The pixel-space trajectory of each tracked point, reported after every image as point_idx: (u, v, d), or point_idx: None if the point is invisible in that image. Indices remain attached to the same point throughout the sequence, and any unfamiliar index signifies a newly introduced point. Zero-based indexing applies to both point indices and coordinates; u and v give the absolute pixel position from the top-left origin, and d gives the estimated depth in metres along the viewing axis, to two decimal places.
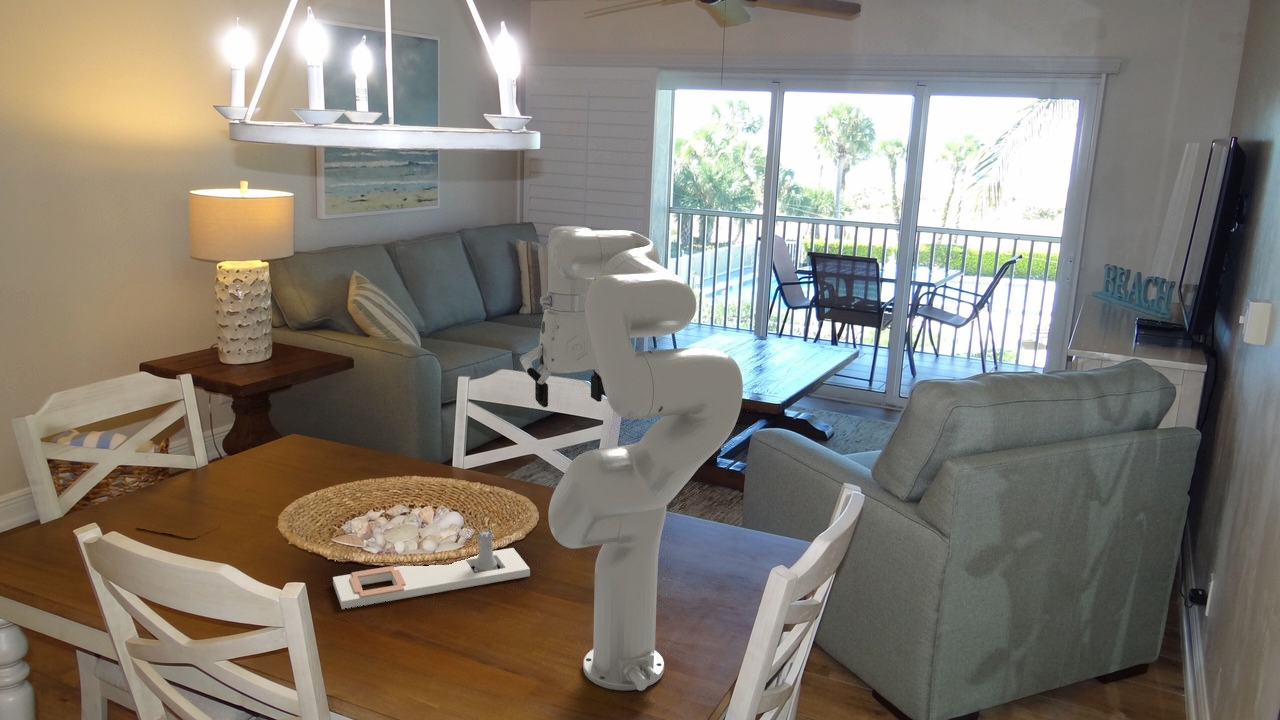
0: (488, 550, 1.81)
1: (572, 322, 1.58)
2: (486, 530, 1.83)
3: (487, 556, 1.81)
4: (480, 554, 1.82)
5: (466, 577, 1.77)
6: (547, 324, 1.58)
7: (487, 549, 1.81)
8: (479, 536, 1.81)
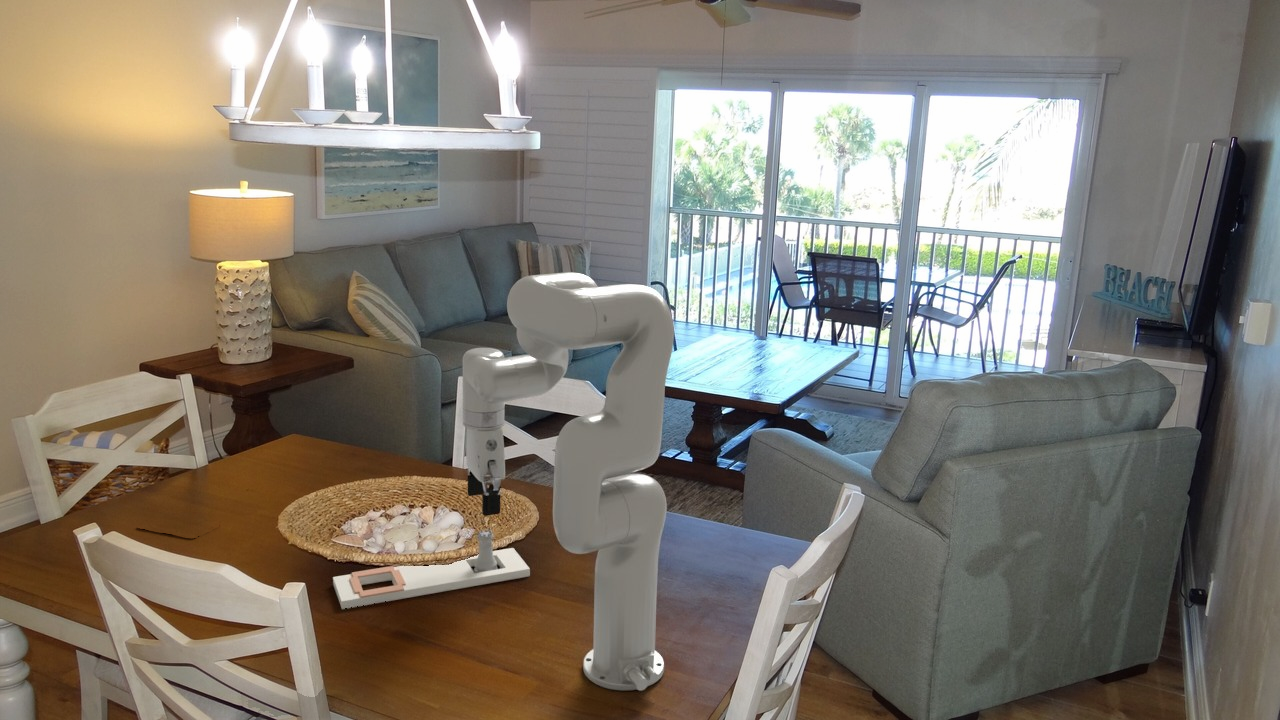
0: (488, 550, 1.81)
1: None
2: (486, 530, 1.83)
3: (487, 556, 1.81)
4: (480, 554, 1.82)
5: (466, 577, 1.77)
6: (499, 439, 1.74)
7: (487, 549, 1.81)
8: (479, 536, 1.81)
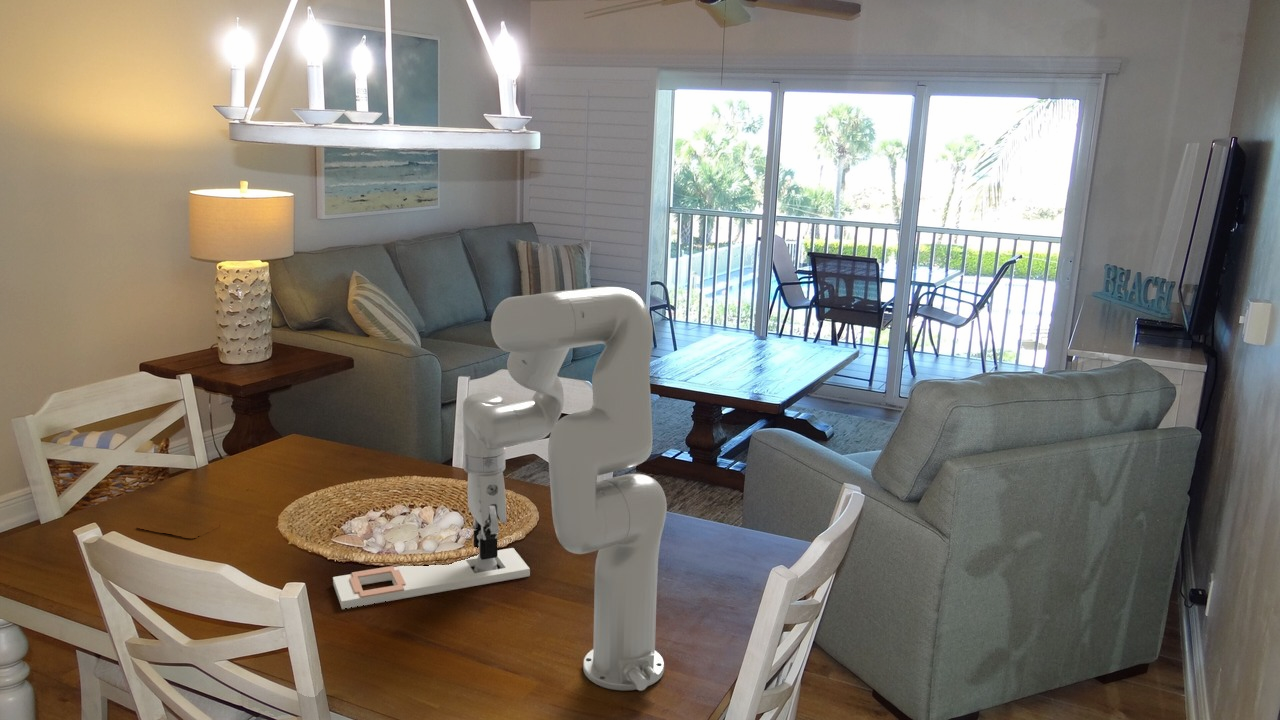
0: None
1: None
2: None
3: None
4: None
5: (466, 577, 1.77)
6: (500, 484, 1.76)
7: None
8: (479, 536, 1.81)
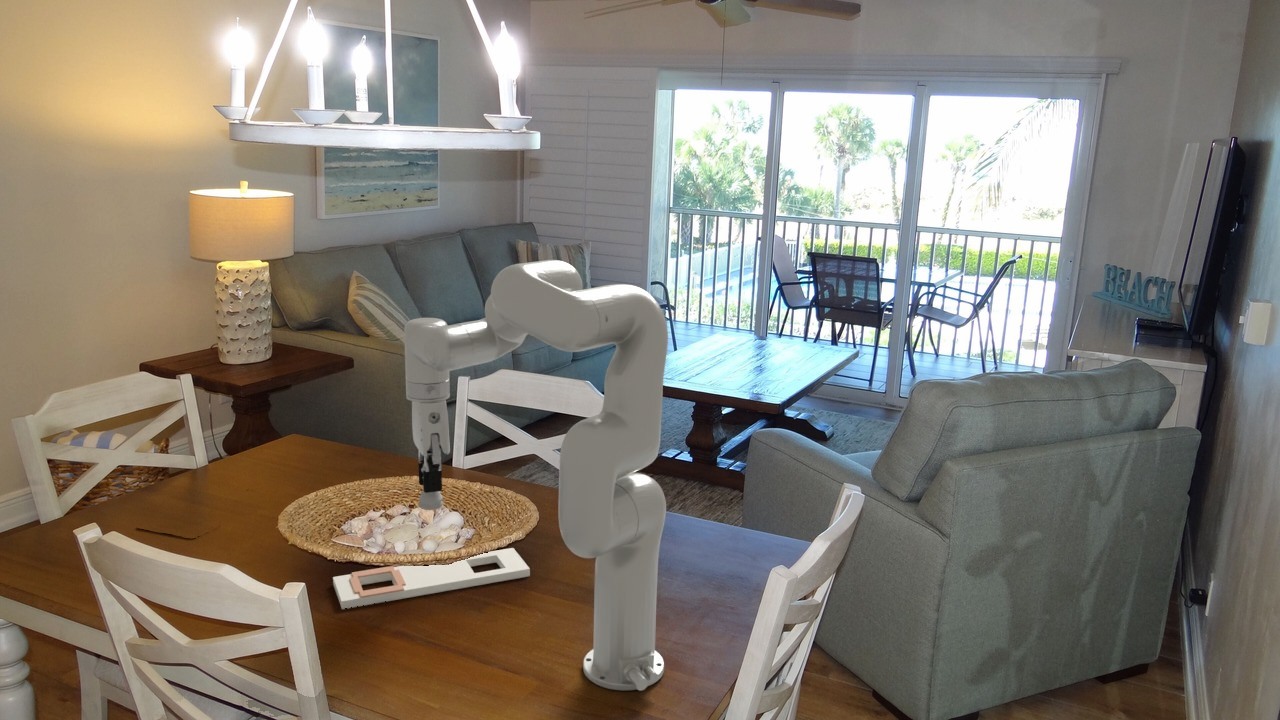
0: None
1: None
2: None
3: None
4: None
5: (466, 577, 1.77)
6: (442, 412, 1.68)
7: None
8: (423, 468, 1.73)
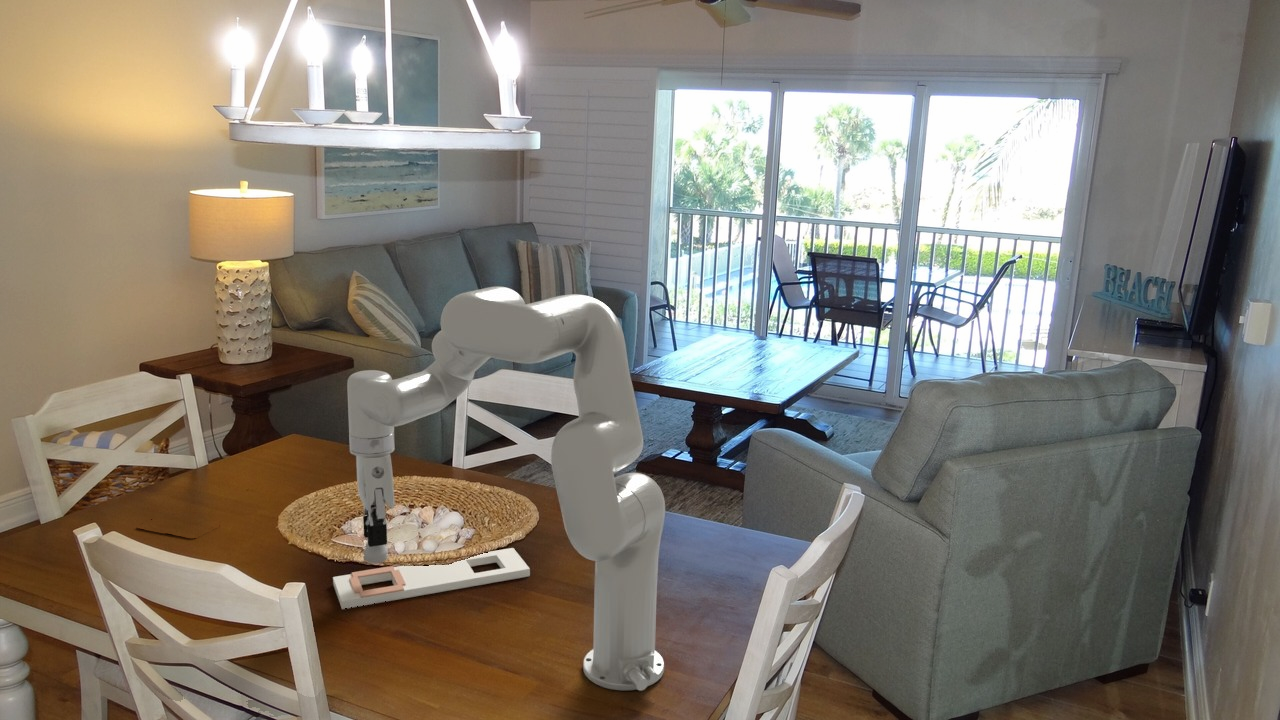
0: None
1: None
2: None
3: None
4: None
5: (466, 577, 1.77)
6: (386, 466, 1.66)
7: None
8: (367, 521, 1.71)
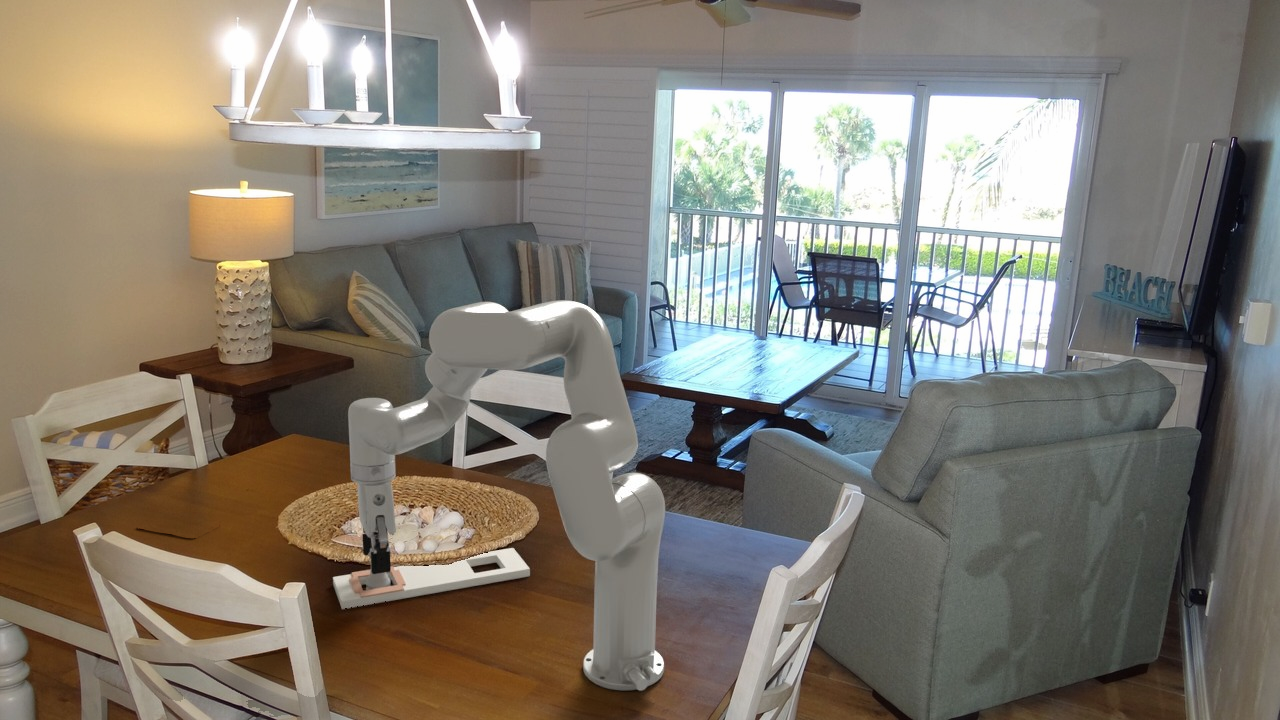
0: None
1: None
2: None
3: (379, 575, 1.73)
4: (371, 572, 1.73)
5: (466, 577, 1.77)
6: (387, 494, 1.67)
7: None
8: (370, 553, 1.72)
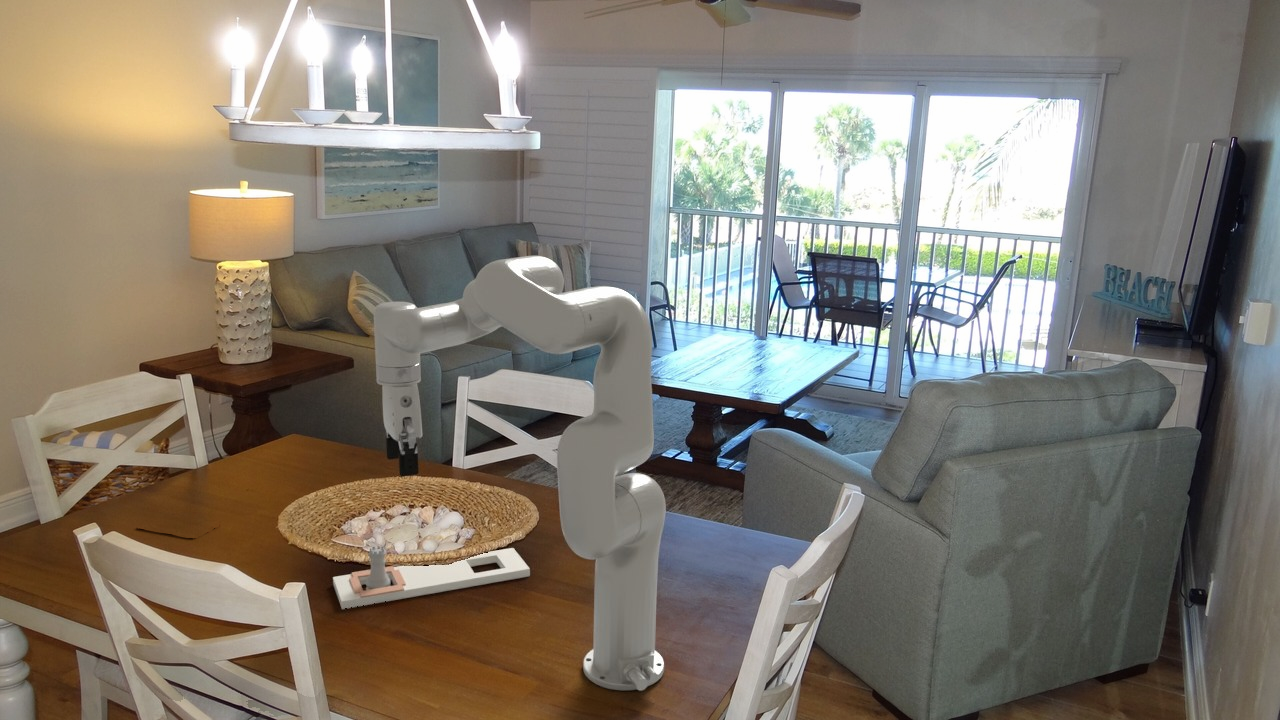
0: (380, 568, 1.73)
1: None
2: (378, 547, 1.74)
3: (379, 575, 1.73)
4: (371, 572, 1.73)
5: (466, 577, 1.77)
6: (414, 395, 1.67)
7: (379, 567, 1.73)
8: (370, 553, 1.72)
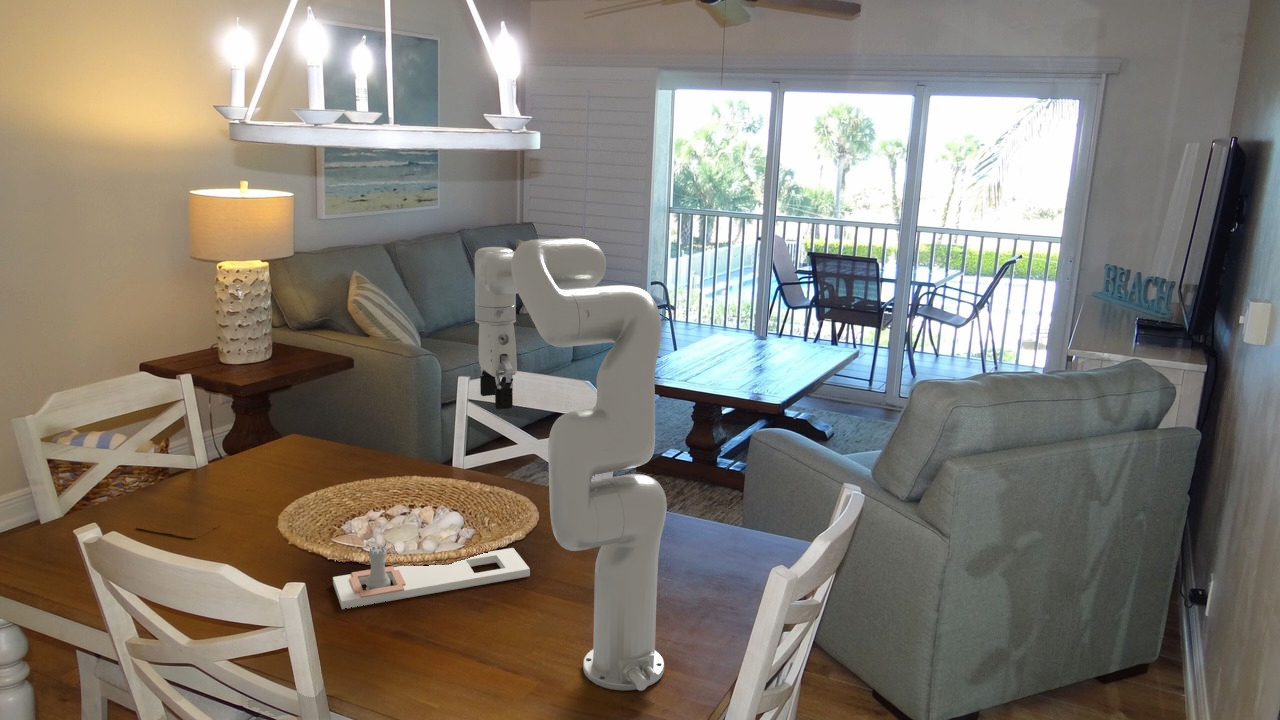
0: (380, 568, 1.73)
1: None
2: (378, 547, 1.74)
3: (379, 575, 1.73)
4: (371, 572, 1.73)
5: (466, 577, 1.77)
6: (511, 334, 1.80)
7: (379, 567, 1.73)
8: (370, 553, 1.72)
